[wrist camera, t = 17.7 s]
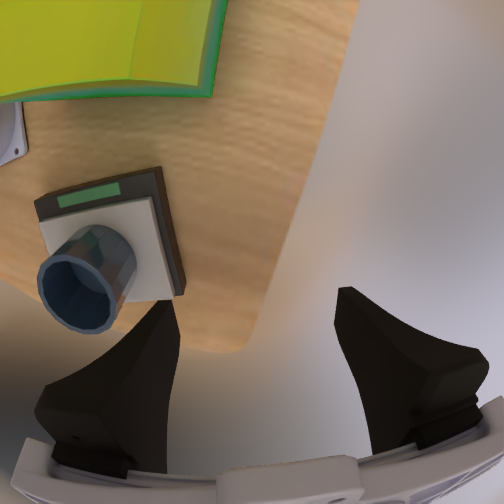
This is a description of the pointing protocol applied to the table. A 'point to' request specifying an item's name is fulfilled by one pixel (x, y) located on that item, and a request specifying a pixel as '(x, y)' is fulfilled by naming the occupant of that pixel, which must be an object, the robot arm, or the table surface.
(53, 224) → the scale
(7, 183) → the table surface
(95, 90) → the apple
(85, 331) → the cup
